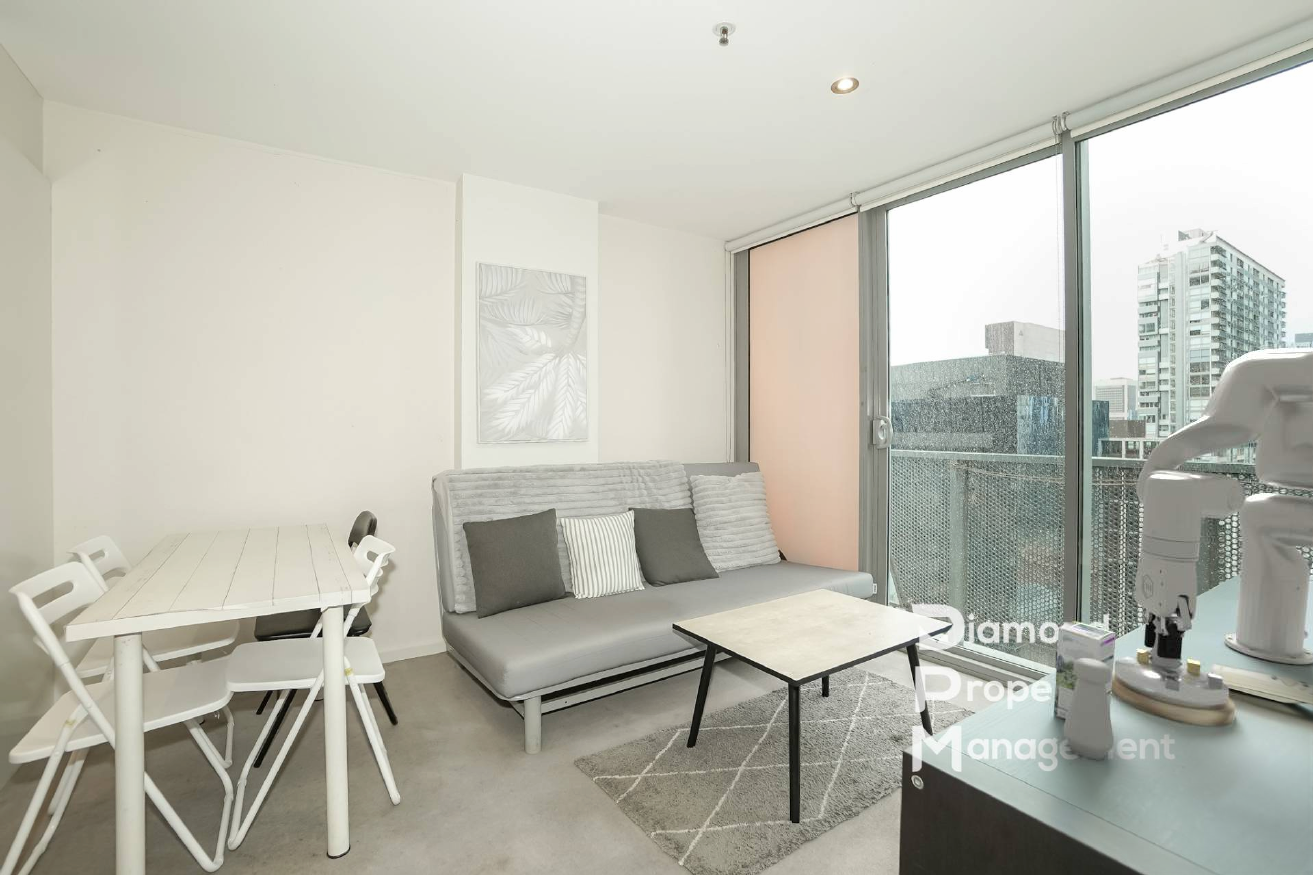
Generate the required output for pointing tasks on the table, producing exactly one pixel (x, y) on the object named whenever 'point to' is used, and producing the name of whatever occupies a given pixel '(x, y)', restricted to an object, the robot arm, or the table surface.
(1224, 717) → the tan flat disc
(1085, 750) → the salt shaker
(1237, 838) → the table surface
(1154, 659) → the rook chess piece
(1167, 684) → the white round board
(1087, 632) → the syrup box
